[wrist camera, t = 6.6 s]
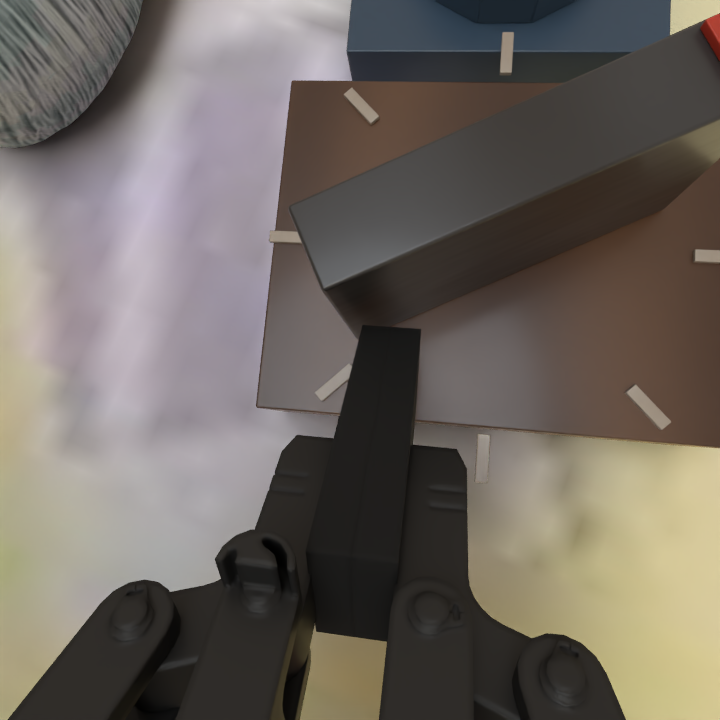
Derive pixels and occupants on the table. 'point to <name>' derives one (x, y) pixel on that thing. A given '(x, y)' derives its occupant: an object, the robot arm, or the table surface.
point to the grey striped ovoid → (57, 61)
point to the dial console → (505, 293)
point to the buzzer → (497, 38)
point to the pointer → (518, 183)
